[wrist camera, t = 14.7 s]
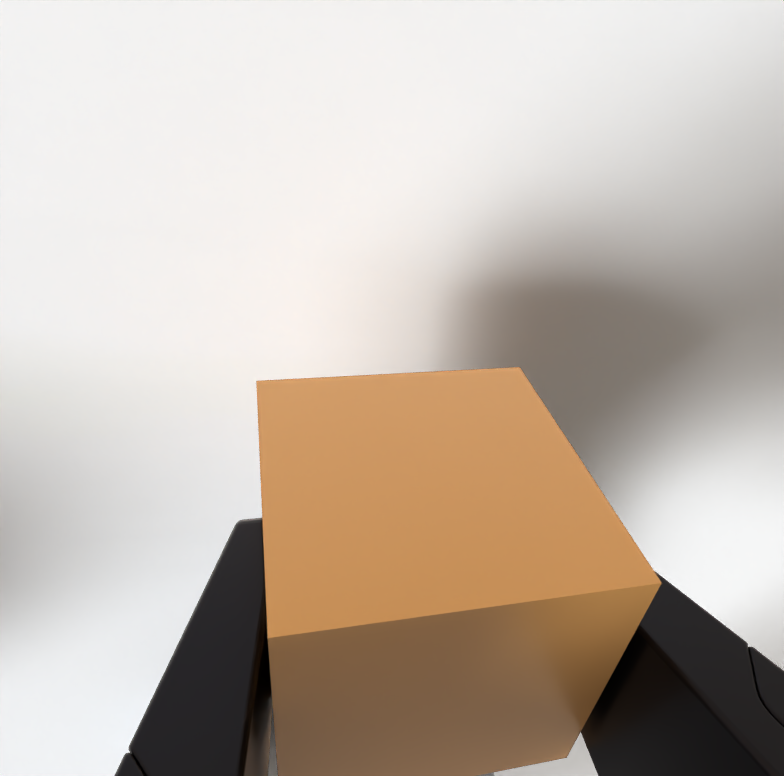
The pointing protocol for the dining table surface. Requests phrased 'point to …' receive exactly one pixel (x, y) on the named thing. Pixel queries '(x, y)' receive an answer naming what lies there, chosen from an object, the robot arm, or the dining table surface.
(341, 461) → the plug
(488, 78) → the dining table surface
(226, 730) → the robot arm
